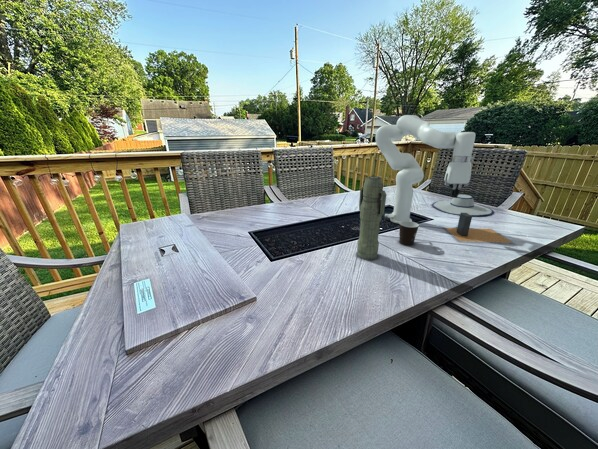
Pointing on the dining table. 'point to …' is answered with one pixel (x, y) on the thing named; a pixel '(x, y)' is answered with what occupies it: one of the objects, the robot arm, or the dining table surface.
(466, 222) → the block
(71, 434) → the dining table surface
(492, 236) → the cork mat
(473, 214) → the sun hat
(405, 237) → the coffee mug
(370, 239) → the thermos
